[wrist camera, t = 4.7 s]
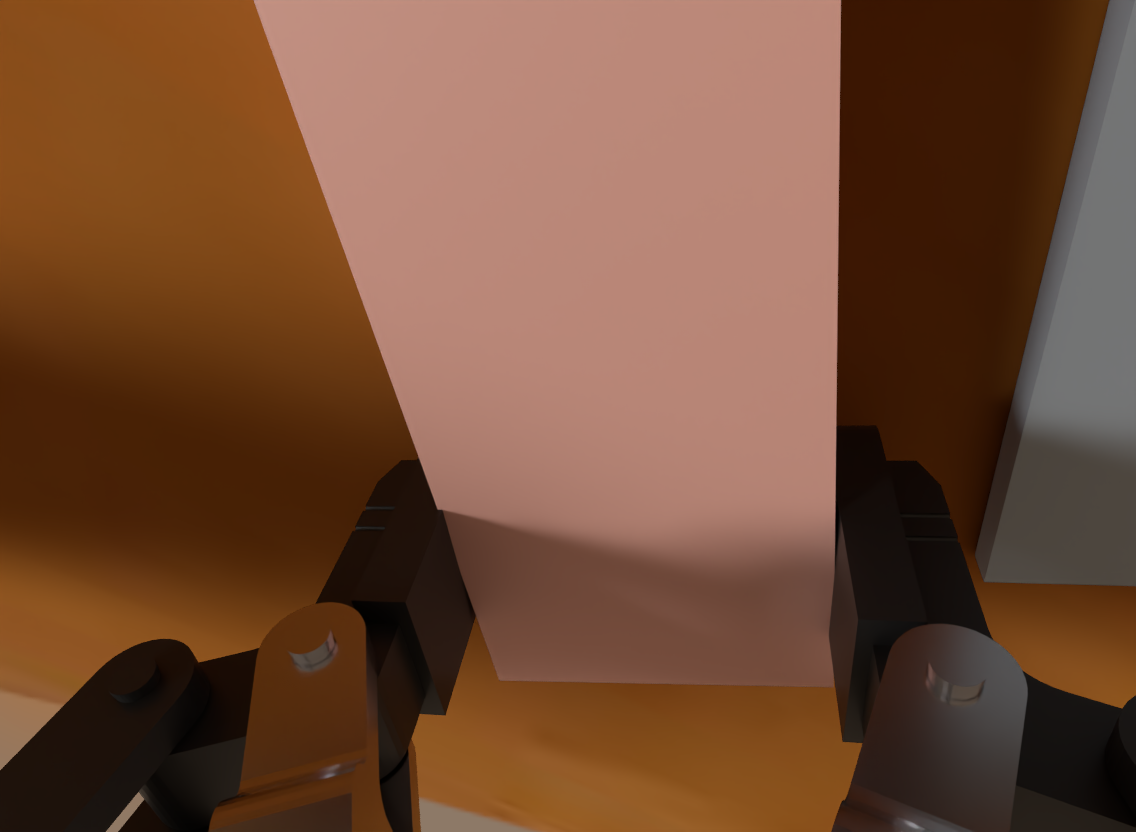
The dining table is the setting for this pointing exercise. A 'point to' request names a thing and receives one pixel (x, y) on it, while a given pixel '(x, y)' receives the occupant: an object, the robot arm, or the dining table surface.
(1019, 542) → the mat
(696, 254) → the pink block
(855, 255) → the dining table surface
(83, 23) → the dining table surface
